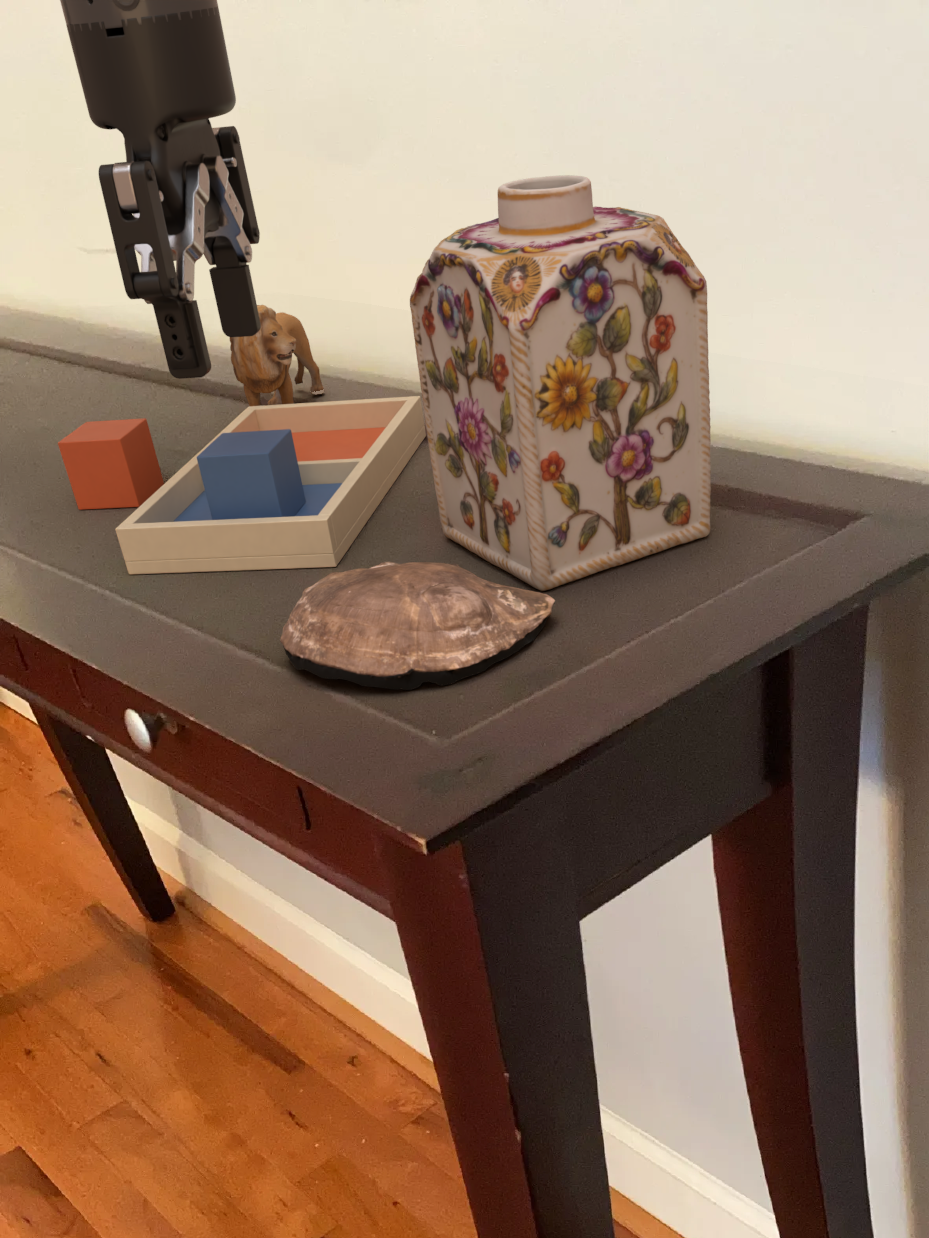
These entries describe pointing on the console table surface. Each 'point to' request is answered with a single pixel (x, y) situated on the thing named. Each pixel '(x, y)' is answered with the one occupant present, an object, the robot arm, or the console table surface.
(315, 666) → the shell
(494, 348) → the decorative jar
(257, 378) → the lion figurine
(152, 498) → the sorting tray
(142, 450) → the terracotta block
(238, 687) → the console table surface
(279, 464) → the blue block
